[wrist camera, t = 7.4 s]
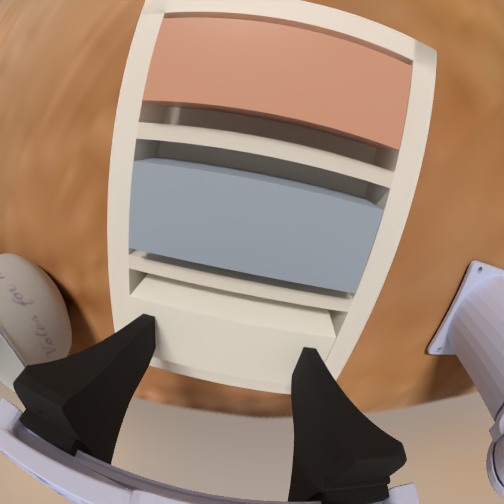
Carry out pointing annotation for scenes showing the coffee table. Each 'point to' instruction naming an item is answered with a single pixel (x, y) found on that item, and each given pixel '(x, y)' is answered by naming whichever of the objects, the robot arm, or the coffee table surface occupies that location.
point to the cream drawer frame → (266, 167)
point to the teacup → (29, 318)
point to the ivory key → (230, 329)
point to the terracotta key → (280, 77)
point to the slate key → (251, 222)
